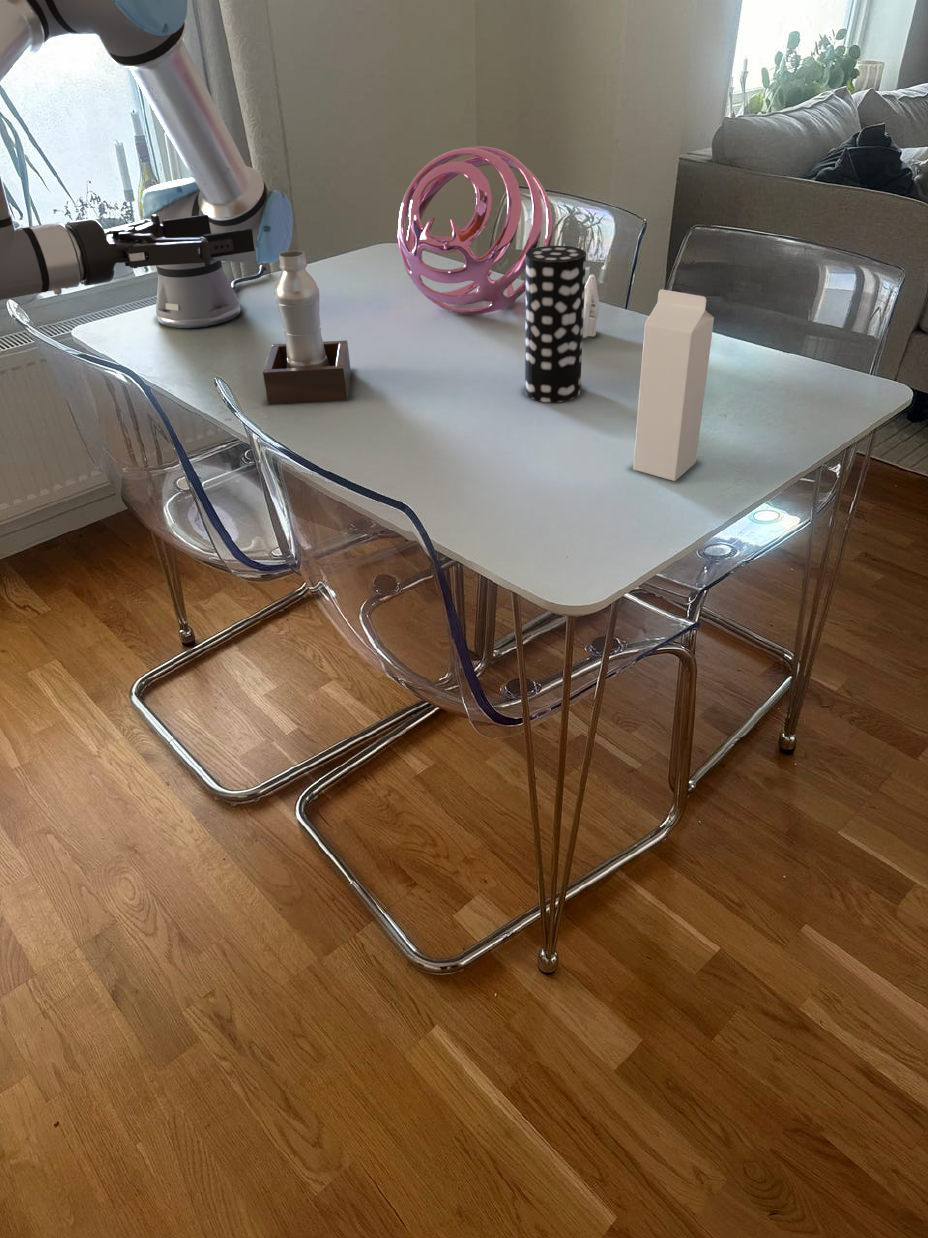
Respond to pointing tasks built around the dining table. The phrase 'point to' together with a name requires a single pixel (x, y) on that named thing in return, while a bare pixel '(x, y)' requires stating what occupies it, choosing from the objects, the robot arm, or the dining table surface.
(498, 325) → the dining table surface
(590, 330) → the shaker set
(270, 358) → the box
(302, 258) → the silver metal bottle
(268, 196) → the robot arm
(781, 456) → the dining table surface
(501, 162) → the spiral basket
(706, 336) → the milk
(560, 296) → the spotted tube
